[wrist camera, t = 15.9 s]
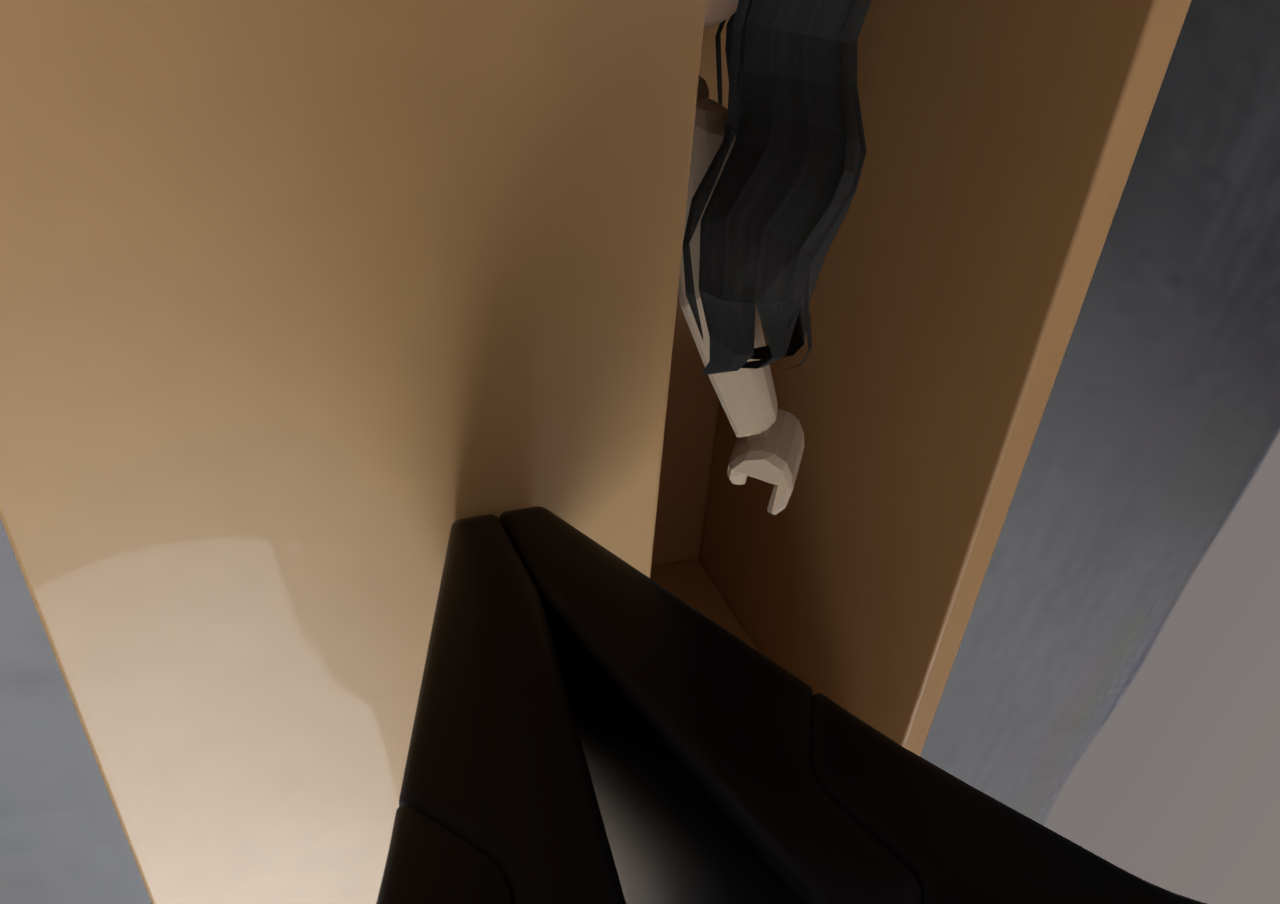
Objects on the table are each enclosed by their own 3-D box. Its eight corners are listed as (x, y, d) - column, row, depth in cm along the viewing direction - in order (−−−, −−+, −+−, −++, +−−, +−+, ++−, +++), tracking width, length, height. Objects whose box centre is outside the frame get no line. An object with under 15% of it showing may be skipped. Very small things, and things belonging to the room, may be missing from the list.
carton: (706, 556, 23) (893, 834, 17) (218, 657, 19) (229, 1063, 13) (846, -452, 13) (1441, -682, 7) (-118, -654, 9) (-768, -1588, 3)
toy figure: (762, 662, 17) (1031, -370, 10) (646, 948, 12) (1033, -772, 5) (430, 544, 19) (465, -403, 12) (201, 749, 14) (27, -725, 7)
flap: (603, 949, 15) (612, 972, 14) (235, 1089, 13) (237, 1121, 12) (768, -981, 5) (809, -1031, 4) (-826, -1693, 3) (-953, -1885, 2)
